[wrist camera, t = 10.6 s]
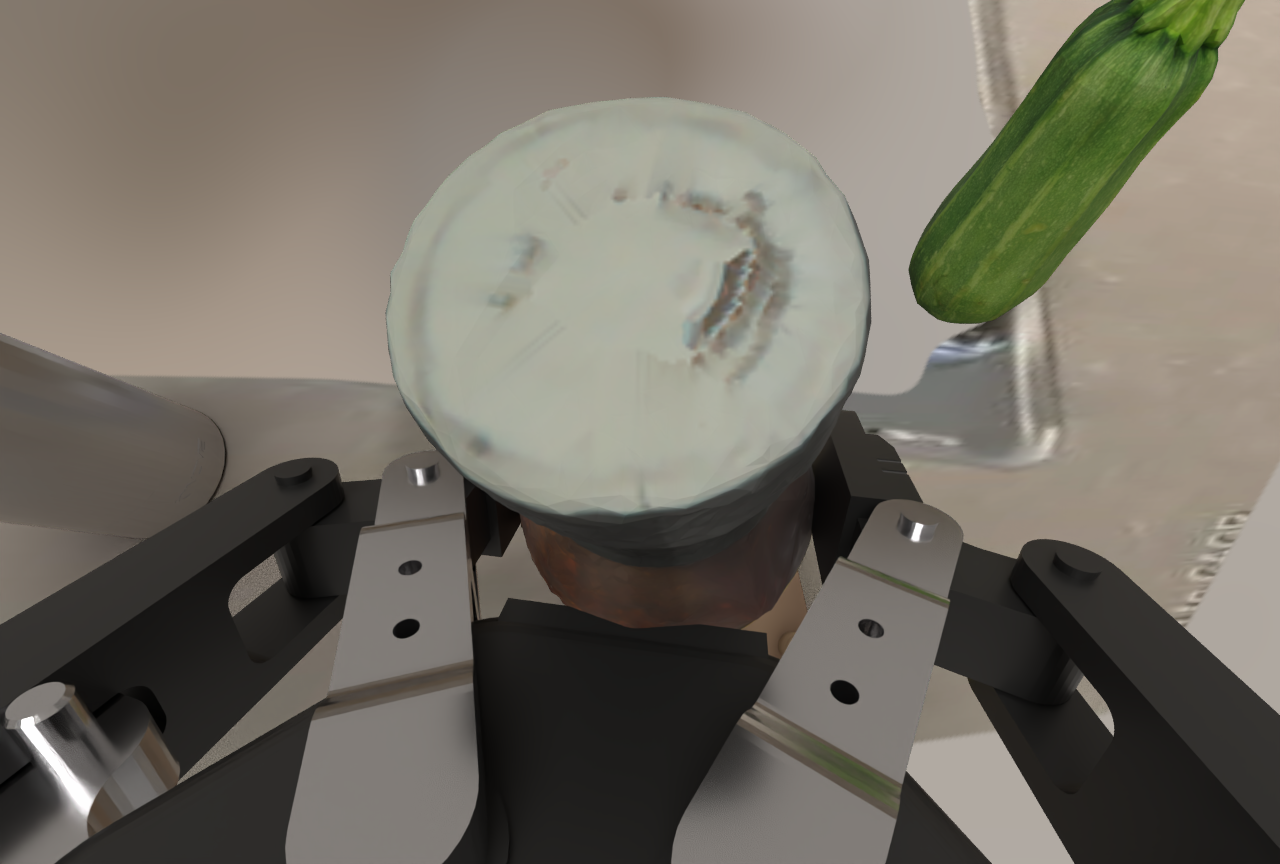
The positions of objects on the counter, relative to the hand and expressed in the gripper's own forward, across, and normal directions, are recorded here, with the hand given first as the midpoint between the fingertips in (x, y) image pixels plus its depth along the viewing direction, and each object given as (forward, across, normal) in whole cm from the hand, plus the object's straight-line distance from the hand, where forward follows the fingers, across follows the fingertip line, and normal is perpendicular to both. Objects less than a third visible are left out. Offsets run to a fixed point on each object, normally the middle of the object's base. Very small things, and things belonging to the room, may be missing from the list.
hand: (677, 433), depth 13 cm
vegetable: (+29, -16, +3) cm, 33 cm away
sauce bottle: (+7, 0, +9) cm, 12 cm away
